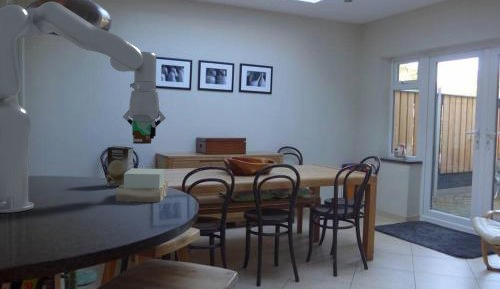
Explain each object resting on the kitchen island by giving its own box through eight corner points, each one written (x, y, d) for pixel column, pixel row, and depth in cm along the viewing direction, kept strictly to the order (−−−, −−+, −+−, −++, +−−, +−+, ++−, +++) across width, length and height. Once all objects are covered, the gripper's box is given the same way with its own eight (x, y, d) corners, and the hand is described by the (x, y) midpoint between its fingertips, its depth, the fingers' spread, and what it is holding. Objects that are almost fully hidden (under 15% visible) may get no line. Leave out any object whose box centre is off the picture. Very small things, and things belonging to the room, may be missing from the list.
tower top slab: (159, 188, 152) (159, 174, 151) (123, 188, 150) (123, 173, 150) (163, 182, 167) (164, 169, 167) (131, 181, 166) (131, 168, 166)
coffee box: (105, 186, 180) (106, 147, 180) (112, 184, 187) (112, 146, 186) (127, 187, 180) (128, 148, 179) (133, 185, 186) (133, 147, 185)
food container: (149, 144, 152) (150, 115, 151) (132, 143, 152) (132, 114, 151) (158, 142, 164) (158, 115, 163) (141, 142, 164) (142, 115, 164)
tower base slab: (160, 203, 151) (160, 189, 150) (115, 202, 150) (115, 188, 150) (167, 195, 168) (167, 182, 167) (127, 194, 167) (127, 181, 167)
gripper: (118, 85, 153) (117, 137, 154) (167, 87, 153) (166, 139, 154) (123, 87, 160) (122, 137, 161) (170, 89, 161) (169, 138, 162)
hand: (144, 137), depth 158 cm, fingers closed on food container, 5 cm apart
